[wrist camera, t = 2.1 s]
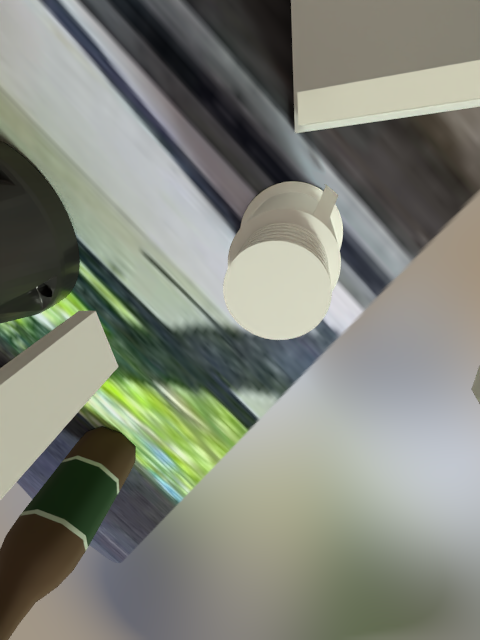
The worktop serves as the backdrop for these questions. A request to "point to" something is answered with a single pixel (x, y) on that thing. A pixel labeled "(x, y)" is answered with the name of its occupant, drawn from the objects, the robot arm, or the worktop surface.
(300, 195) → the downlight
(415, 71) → the holder
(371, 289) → the worktop surface
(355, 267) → the worktop surface
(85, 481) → the beer bottle
